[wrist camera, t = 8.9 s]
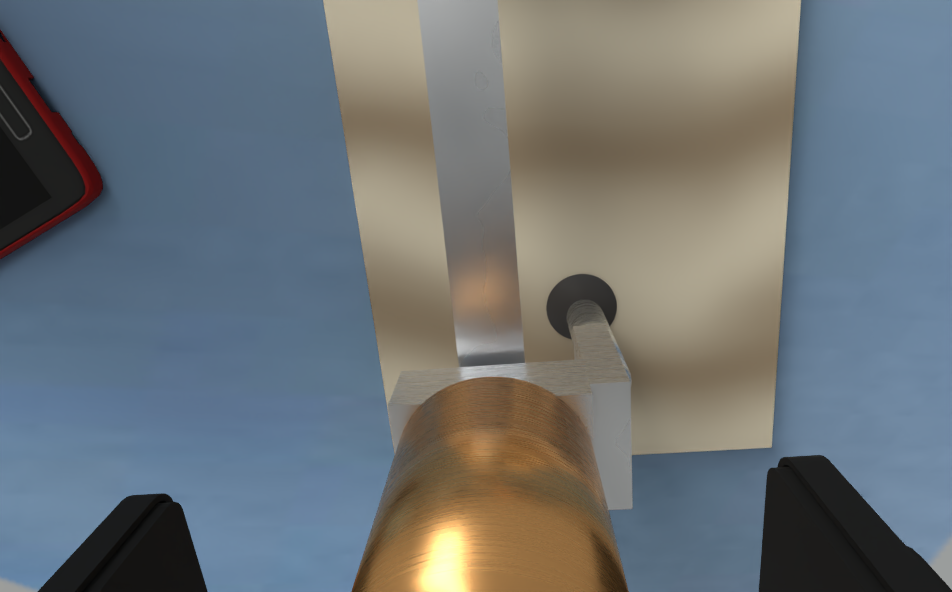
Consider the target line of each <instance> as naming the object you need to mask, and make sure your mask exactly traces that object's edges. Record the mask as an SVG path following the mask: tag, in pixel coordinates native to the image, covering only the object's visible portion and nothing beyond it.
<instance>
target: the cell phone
mask: <svg viewBox="0 0 952 592" xmlns="http://www.w3.org/2000/svg"><path fill="white" fill-rule="evenodd" d="M0 33H1V35H2V37H3V38H4V40H5V41H6V42H3V41H2V39H1V38H0V259H2V258H3V257H5V256H7V255H8V254H10V253H11V252H13V251H15V250H16V249H18V248H20V247H21V246H23V245H24V244H26V243H28V242H29V241H31V240H33V239H34V238H36V237H37V236H39V235H41V234H42V233H44V232H46V231H47V230H49V229H50V228H52V227H54V226H55V225H57V224H59V223H60V222H62V221H64V220H65V219H67V218H68V217H70V216H72V215H73V214H75V213H77V212H78V211H80V210H81V209H83V208H85V207H86V206H87V205H89V204H90V203H91V202H92V201H93V200H95V199H96V198H97V197H98V196H99V195H100V193H101V191H102V189H103V184H102V179H101V176H100V174H99V172H98V170H97V168H96V166H95V165H94V163H93V162H92V160H91V159H90V157H89V155H88V154H87V153H86V151H85V150H84V148H83V147H82V146H81V145H79V144H78V142H77V141H76V139H75V138H74V137H73V135H72V134H71V133H72V131H71V130H70V128H69V127H68V125H67V124H66V123H65V121H64V120H63V118H62V117H61V115H60V114H59V113H58V112H51V111H50V109H49V108H48V106H47V105H46V104H45V102H44V101H43V99H42V98H41V97H40V95H39V94H38V92H37V91H36V89H35V88H34V87H33V85H32V84H31V82H30V81H29V80H31V79H32V78H34V77H33V75H32V74H31V73H30V71H29V70H28V68H27V67H26V65H25V64H24V63H23V61H22V60H21V58H20V57H19V55H18V54H17V53H16V51H15V50H14V48H13V47H12V45H11V44H10V43H9V41H8V40H7V38H6V37H5V36H4V34H3V33H2V31H1V30H0Z"/></svg>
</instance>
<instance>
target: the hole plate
mask: <svg viewBox="0 0 952 592" xmlns="http://www.w3.org/2000/svg"><path fill="white" fill-rule="evenodd" d="M323 2H324V9H325V15H326V22H327V28H328V34H329V41H330V47H331V53H332V60H333V66H334V72H335V79H336V85H337V91H338V98H339V104H340V110H341V117H342V123H343V129H344V136H345V142H346V148H347V155H348V161H349V168H350V174H351V180H352V187H353V193H354V199H355V206H356V212H357V218H358V225H359V231H360V237H361V244H362V250H363V256H364V263H365V269H366V275H367V282H368V288H369V294H370V301H371V307H372V314H373V320H374V326H375V333H376V339H377V345H378V352H379V358H380V364H381V371H382V377H383V383H384V390H385V396H386V402H387V409H388V404H389V401H390V399H391V396H392V394H393V391H394V389H395V386H396V383H397V381H398V378H399V376H400V373H401V371H411V370H427V369H442V368H457V367H459V363H458V355H457V346H456V337H455V328H454V319H453V310H452V302H451V293H450V284H449V275H448V266H447V258H446V249H445V240H444V231H443V222H442V214H441V205H440V196H439V187H438V178H437V170H436V161H435V152H434V143H433V134H432V125H431V117H430V108H429V99H428V90H427V81H426V73H425V64H424V55H423V46H422V37H421V29H420V20H419V11H418V2H417V0H323ZM800 8H801V0H498V12H499V25H500V38H501V52H502V65H503V78H504V91H505V104H506V117H507V131H508V144H509V157H510V170H511V183H512V196H513V209H514V223H515V236H516V249H517V262H518V275H519V288H520V302H521V315H522V328H523V341H524V354H525V363H533V362H548V361H564V360H574V345H573V342H572V338H571V334H570V331H569V327H568V323H567V312H568V310H569V308H570V307H571V305H572V304H574V303H575V302H577V301H579V300H591V301H594V302H595V303H597V304H598V305H599V306H600V307H601V309H602V311H603V313H604V315H605V318H606V320H607V322H608V324H609V327H610V329H611V331H612V333H613V335H614V338H615V340H616V342H617V344H618V346H619V349H620V351H621V353H622V355H623V358H624V360H625V362H626V364H627V366H628V369H629V371H630V373H631V378H632V385H631V445H632V455H642V454H661V453H680V452H699V451H718V450H737V449H755V448H772V433H773V418H774V403H775V388H776V372H777V357H778V342H779V327H780V312H781V296H782V281H783V266H784V251H785V236H786V221H787V205H788V190H789V175H790V160H791V145H792V129H793V114H794V99H795V84H796V69H797V54H798V38H799V23H800ZM388 415H389V412H388ZM389 421H390V418H389ZM390 428H391V425H390ZM391 434H392V431H391ZM392 440H393V437H392ZM393 447H394V444H393ZM394 453H395V450H394Z"/></svg>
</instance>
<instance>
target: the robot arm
mask: <svg viewBox="0 0 952 592" xmlns="http://www.w3.org/2000/svg"><path fill="white" fill-rule="evenodd" d="M38 592H207V588H206V585H205V582H204V578H203V575H202V572H201V568H200V565H199V562H198V559H197V555H196V552H195V549H194V545H193V542H192V539H191V535H190V532H189V529H188V525H187V522H186V519H185V515H184V512H183V509H182V507H181V505H180V504H179V503H177V502H173V500H172V498H171V497H170V496H169V495H167V494H147V495H132V496H128V497H126V498H125V499H124V500H122V501H121V502H120V504H119V505H118V506H117V507H116V508H115V509H114V510H113V511H112V512H111V513H110V514H109V515H108V516H107V518H106V519H105V520H104V521H103V522H102V523H101V524H100V525H99V526H98V527H97V528H96V529H95V530H94V532H93V533H92V534H91V535H90V536H89V537H88V538H87V539H86V540H85V541H84V542H83V543H82V544H81V546H80V547H79V548H78V549H77V550H76V551H75V552H74V553H73V554H72V555H71V556H70V557H69V558H68V560H67V561H66V562H65V563H64V564H63V565H62V566H61V567H60V568H59V569H58V570H57V571H56V572H55V573H54V575H53V576H52V577H51V578H50V579H49V580H48V581H47V582H46V583H45V584H44V585H43V586H42V587H41V589H40V590H39V591H38ZM759 592H952V590H951V589H950V588H949V587H948V585H947V584H946V583H945V582H944V581H943V580H942V579H941V578H940V577H939V576H938V574H937V573H936V572H935V571H934V570H933V569H932V568H931V567H930V566H929V565H928V563H927V562H926V561H925V560H924V559H923V558H922V557H921V556H920V555H919V554H918V553H916V552H915V551H914V550H913V549H912V548H910V547H908V546H906V545H905V544H904V543H903V542H902V541H901V540H900V539H899V538H898V536H897V535H896V534H895V533H894V532H893V531H892V530H891V529H890V528H889V526H888V525H887V524H886V523H885V522H884V521H883V520H882V519H881V518H880V516H879V515H878V514H877V513H876V512H875V511H874V510H873V509H872V508H871V506H870V505H869V504H868V503H867V502H866V501H865V500H864V499H863V498H862V496H861V495H860V494H859V493H858V492H857V491H856V490H855V489H854V488H853V486H852V485H851V484H850V483H849V482H848V481H847V480H846V479H845V478H844V476H843V475H842V474H841V473H840V472H839V471H838V470H837V469H836V468H835V466H834V465H833V464H832V463H831V462H830V461H829V460H828V459H827V458H826V457H824V456H821V455H814V456H797V457H783V458H782V459H780V461H779V463H778V467H777V468H770V469H769V471H768V474H767V483H766V498H765V512H764V526H763V540H762V555H761V569H760V583H759Z"/></svg>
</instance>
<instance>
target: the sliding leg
mask: <svg viewBox="0 0 952 592" xmlns="http://www.w3.org/2000/svg"><path fill="white" fill-rule="evenodd" d="M567 323H568V327H569V331H570V334H571V338H572V342H573V345H574V360H564V361H548V362H533V363H518V364H503V365H487V366H472V367H457V368H442V369H427V370H411V371H401V373H400V376H399V378H398V381H397V383H396V386H395V389H394V391H393V394H392V396H391V399H390V401H389V404H388V412H389V418H390V425H391V431H392V437H393V444H394V450H395V456H394V459H393V462H392V466H391V469H390V472H389V475H388V478H387V481H386V485H385V488H384V491H383V494H382V497H381V500H380V503H379V507H378V510H377V513H376V516H375V519H374V522H373V525H372V529H371V532H370V535H369V538H368V541H367V544H366V547H365V551H364V554H363V557H362V560H361V563H360V566H359V570H358V573H357V576H356V579H355V582H354V585H353V588H352V592H629V591H628V587H627V583H626V579H625V575H624V571H623V567H622V563H621V559H620V555H619V551H618V547H617V543H616V539H615V535H614V531H613V526H612V522H611V518H610V514H609V510H621V509H633V504H632V445H631V385H632V378H631V373H630V371H629V369H628V366H627V364H626V362H625V360H624V358H623V355H622V353H621V351H620V349H619V346H618V344H617V342H616V340H615V338H614V335H613V333H612V331H611V329H610V327H609V324H608V322H607V320H606V318H605V315H604V313H603V311H602V309H601V307H600V306H599V305H598V304H597V303H595V302H594V301H591V300H579V301H577V302H575V303H574V304H572V305H571V307H570V308H569V310H568V312H567Z"/></svg>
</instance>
